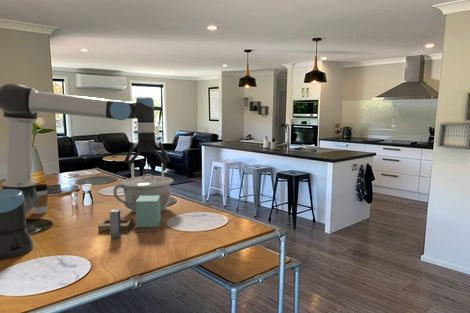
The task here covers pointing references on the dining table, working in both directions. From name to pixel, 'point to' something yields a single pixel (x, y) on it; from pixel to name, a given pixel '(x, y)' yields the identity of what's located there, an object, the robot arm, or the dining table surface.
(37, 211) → the coffee cup
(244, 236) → the dining table surface
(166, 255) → the dining table surface
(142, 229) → the board
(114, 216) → the pin
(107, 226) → the build board
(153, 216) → the block
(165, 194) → the chamber pot
